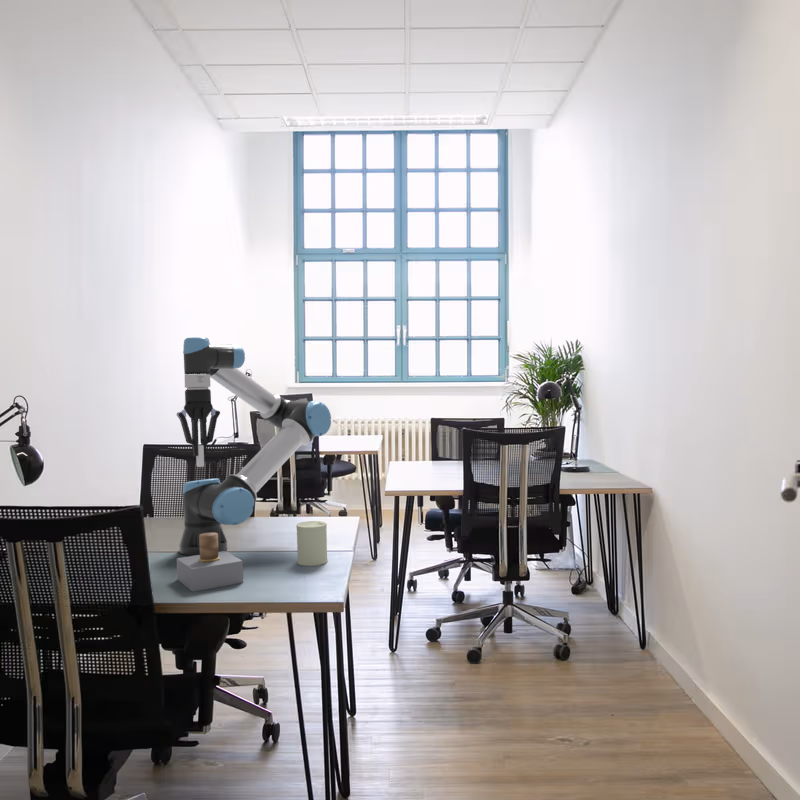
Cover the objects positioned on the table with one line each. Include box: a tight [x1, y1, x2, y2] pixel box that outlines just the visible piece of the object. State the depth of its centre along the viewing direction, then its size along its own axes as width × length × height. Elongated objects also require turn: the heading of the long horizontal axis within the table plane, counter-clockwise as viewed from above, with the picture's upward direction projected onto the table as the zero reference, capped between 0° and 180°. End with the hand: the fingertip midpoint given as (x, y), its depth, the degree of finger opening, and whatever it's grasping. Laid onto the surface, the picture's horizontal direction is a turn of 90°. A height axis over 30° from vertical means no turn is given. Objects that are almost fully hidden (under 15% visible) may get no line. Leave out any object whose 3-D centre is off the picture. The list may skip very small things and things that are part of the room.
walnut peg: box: [199, 533, 219, 563], centre depth 204 cm, size 5×5×13 cm
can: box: [296, 520, 329, 567], centre depth 222 cm, size 9×9×12 cm
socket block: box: [176, 550, 244, 593], centre depth 204 cm, size 14×14×6 cm
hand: (200, 466), depth 223 cm, fingers closed
